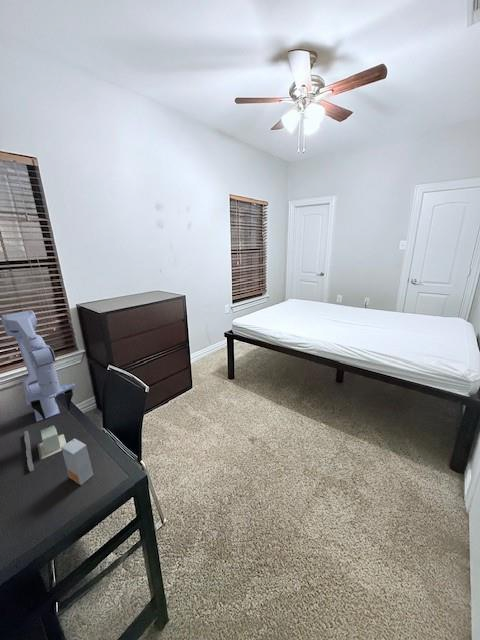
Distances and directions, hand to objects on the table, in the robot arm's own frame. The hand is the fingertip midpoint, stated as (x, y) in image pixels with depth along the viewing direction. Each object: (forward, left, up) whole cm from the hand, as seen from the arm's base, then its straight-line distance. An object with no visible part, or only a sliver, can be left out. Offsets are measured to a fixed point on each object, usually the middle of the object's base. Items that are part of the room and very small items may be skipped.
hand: (56, 412), depth 97 cm
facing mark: (+5, -4, -9) cm, 11 cm away
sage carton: (+5, -4, -9) cm, 11 cm away
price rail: (+2, -10, -9) cm, 14 cm away
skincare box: (+27, +1, -10) cm, 28 cm away
